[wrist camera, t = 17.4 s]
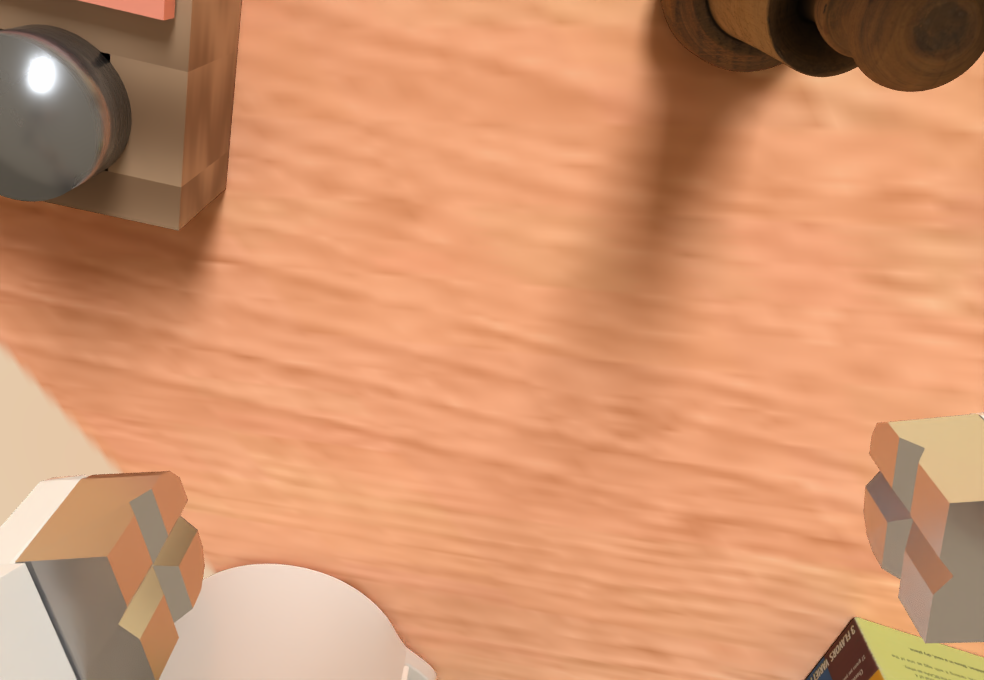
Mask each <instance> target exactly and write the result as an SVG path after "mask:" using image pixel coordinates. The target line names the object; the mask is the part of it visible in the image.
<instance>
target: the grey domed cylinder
mask: <svg viewBox="0 0 984 680" xmlns="http://www.w3.org/2000/svg"><path fill="white" fill-rule="evenodd" d="M131 125H132V113H131V106H130V101H129V97H128V94H127V91H126V89H125V86H124V84H123V82H122V80H121V78H120V76H119V74H118V73H117V71H116V70H115V68H114V67H113V65H112V64H111V63H110V54H108V53H103V52H100V51H99V50H98V49H97V48H96V47H95V46H93V45H92V44H91V43H89V42H88V41H87V40H85V39H83V38H82V37H80V36H78V35H77V34H75V33H72V32H70V31H68V30H65V29H62V28H59V27H55V26H50V25H40V24H34V25H25V26H19V27H14V28H9V29H4V30H0V195H1V196H4V197H8V198H11V199H16V200H21V201H44V200H49V199H53V198H56V197H58V196H61V195H63V194H65V193H67V192H68V191H70V190H72V189H73V188H75V187H77V186H79V185H80V184H82V183H84V182H85V181H87V180H89V179H91V178H92V177H94V176H96V175H97V174H99V173H101V172H103V171H104V170H106V169H108V168H109V167H110V166H111V165H113V164H114V163H115V162H116V161H117V160H118V158H119V157H120V156H121V154H122V153H123V151H124V150H125V148H126V145H127V143H128V140H129V137H130V133H131Z"/></svg>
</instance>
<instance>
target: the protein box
mask: <svg viewBox="0 0 984 680" xmlns="http://www.w3.org/2000/svg"><path fill="white" fill-rule="evenodd" d="M806 680H984V657H981V656H977V655H974V654H971V653H968V652H965V651H962V650H958V649H955V648H952V647H949V646H946V645H943V644H940V643H925V642H924V641H923V639H922V638H921V637H918V636H915V635H911V634H908V633H905V632H902V631H899V630H896V629H893V628H889V627H886V626H883V625H880V624H877V623H874V622H871V621H868V620H865V619H862V618H858V617H854V618H853V619H852V621H851V622H850V623H849V625H848V626H847V628H846V629H845V630H844V632H843V633H842V634H841V635H840V637H839V638H838V639H837V641H836V642H835V643H834V644H833V646H832V647H831V648H830V649H829V651H828V652H827V653H826V655H825V656H824V657H823V658H822V660H821V661H820V662H819V663H818V665H817V666H816V667H815V669H814V670H813V671H812V672H811V674H810V675H809V676H808V678H807V679H806Z"/></svg>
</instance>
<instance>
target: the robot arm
mask: <svg viewBox="0 0 984 680" xmlns="http://www.w3.org/2000/svg"><path fill="white" fill-rule="evenodd" d="M869 454H870V456H871V457H872V459H873V460H874V462H875V464H876V465H877V467H878V468H879V470H880V471H879V472H878V474H877V475H876V476H875V477H874V478H873V479H872V480H871V481H870V482H869V483H868V484H867V485H866V487H865V498H864V519H865V526H866V533H867V537H868V540H869V543H870V546H871V549H872V551H873V553H874V555H875V557H876V559H877V561H878V563H879V564H880V566H881V568H882V569H884V570H886V571H887V572H889V573H891V574H892V575H894V576H896V577H897V578H899V579H901V581H900V588H899V595H898V598H899V599H900V601H901V603H902V605H903V606H904V608H905V610H906V611H907V613H908V615H909V617H910V618H911V620H912V622H913V623H914V625H915V627H916V629H917V630H918V632H919V634H920V635H921V637H922V639H923V641H924V642H925V643H961V642H984V412H983V413H973V414H969V415H958V416H947V417H936V418H925V419H914V420H903V421H892V422H881V423H877V424H876V427H875V429H874V431H873V434H872V438H871V445H870V453H869ZM187 501H188V499H187V496H186V493H185V491H184V488H183V485H182V483H181V480H180V477H178V476H177V475H175V474H174V473H172V472H171V471H161V472H141V473H120V474H100V475H91V476H87V475H79V476H67V477H55V478H50V479H47V480H43V481H41V482H39V484H38V485H37V486H36V487H35V488H34V489H33V490H32V492H31V493H30V494H29V495H28V496H27V497H26V498H25V500H24V501H23V502H22V503H21V504H20V505H19V506H18V508H17V509H16V510H15V511H14V512H13V513H12V515H11V516H10V517H9V518H8V519H7V520H6V521H5V522H4V524H3V525H2V526H1V527H0V680H437V675H436V672H435V671H434V669H433V668H432V667H431V666H430V665H429V664H428V663H427V662H425V661H424V660H423V659H422V658H420V657H419V656H418V655H416V654H415V653H414V652H412V651H411V650H409V649H408V648H407V647H406V646H405V645H404V644H403V642H402V641H401V639H400V638H399V636H398V635H397V633H396V631H395V629H394V628H393V626H392V624H391V623H390V621H389V620H388V618H387V617H386V616H385V614H384V613H383V612H382V611H381V610H380V609H379V608H378V607H377V606H376V605H375V604H374V603H373V602H372V601H371V600H370V599H369V598H367V597H366V596H365V595H364V594H362V593H361V592H359V591H358V590H357V589H355V588H353V587H352V586H350V585H348V584H346V583H344V582H343V581H341V580H338V579H336V578H334V577H332V576H329V575H327V574H324V573H321V572H318V571H315V570H311V569H307V568H303V567H298V566H291V565H283V564H252V565H244V566H239V567H234V568H230V569H227V570H224V571H221V572H218V573H216V574H213V575H211V576H209V577H207V578H205V579H203V574H204V567H205V564H204V554H203V546H202V543H201V540H200V536H199V533H198V530H197V529H196V528H194V527H193V526H192V525H191V524H190V523H188V522H187V521H186V520H185V519H184V518H182V517H181V516H180V515H181V513H182V511H183V509H184V507H185V505H186V503H187Z"/></svg>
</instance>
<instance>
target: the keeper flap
mask: <svg viewBox="0 0 984 680" xmlns="http://www.w3.org/2000/svg"><path fill="white" fill-rule="evenodd" d="M79 1H83V2H87V3H92V4H96V5H100V6H104V7H109V8H113V9H117V10H121V11H126V12H130V13H134V14H138V15H143V16H147V17H151V18H155V19H159V20H168V19H173V18H174V15H175V0H79Z"/></svg>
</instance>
